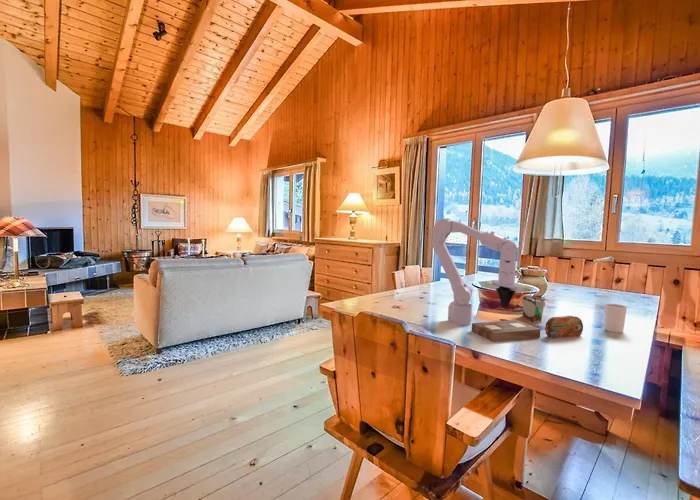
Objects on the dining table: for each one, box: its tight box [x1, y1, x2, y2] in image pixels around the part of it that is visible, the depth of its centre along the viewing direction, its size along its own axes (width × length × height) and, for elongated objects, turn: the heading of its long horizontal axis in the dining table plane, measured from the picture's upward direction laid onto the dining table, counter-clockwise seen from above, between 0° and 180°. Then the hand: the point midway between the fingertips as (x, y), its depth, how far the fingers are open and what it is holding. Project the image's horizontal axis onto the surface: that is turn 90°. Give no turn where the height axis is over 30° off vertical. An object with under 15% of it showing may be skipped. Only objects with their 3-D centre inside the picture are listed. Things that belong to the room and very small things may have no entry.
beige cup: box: [604, 303, 628, 334], centre depth 137 cm, size 7×7×10 cm
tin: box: [544, 315, 584, 340], centre depth 126 cm, size 15×3×8 cm, turn 105°
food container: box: [521, 295, 546, 324], centre depth 147 cm, size 12×6×10 cm, turn 179°
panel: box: [471, 319, 542, 343], centre depth 128 cm, size 12×20×4 cm, turn 106°
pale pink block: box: [484, 325, 502, 330], centre depth 126 cm, size 4×4×3 cm
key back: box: [510, 323, 527, 328], centre depth 129 cm, size 4×4×3 cm
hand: (504, 306), depth 134 cm, fingers closed
